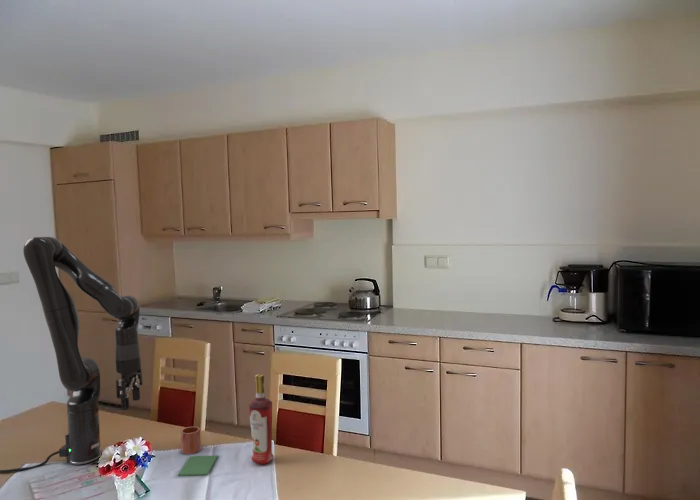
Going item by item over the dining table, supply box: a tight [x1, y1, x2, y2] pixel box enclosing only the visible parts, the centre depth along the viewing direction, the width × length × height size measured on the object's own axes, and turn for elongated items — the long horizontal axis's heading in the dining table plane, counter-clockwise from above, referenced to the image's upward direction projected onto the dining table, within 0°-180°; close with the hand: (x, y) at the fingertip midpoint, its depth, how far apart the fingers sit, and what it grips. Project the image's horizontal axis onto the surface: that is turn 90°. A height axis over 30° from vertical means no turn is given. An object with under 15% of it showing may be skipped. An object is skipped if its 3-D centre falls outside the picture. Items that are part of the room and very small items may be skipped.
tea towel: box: [177, 455, 219, 477], centre depth 158 cm, size 9×12×1 cm
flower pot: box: [180, 425, 202, 455], centre depth 169 cm, size 6×6×7 cm
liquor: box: [248, 373, 274, 465], centre depth 159 cm, size 7×7×28 cm
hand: (131, 404), depth 165 cm, fingers open, 8 cm apart
